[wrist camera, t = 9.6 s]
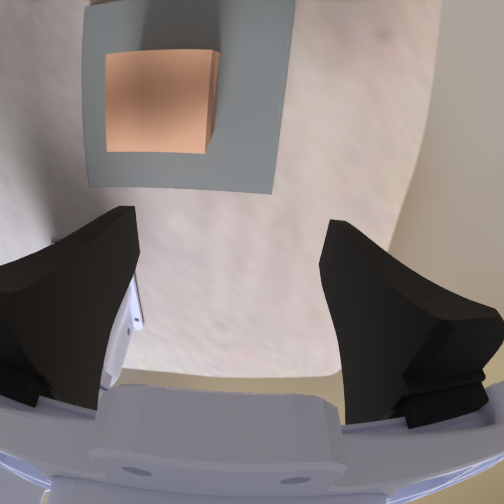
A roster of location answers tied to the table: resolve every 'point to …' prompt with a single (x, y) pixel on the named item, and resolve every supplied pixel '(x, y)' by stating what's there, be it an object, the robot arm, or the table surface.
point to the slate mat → (228, 95)
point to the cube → (161, 100)
